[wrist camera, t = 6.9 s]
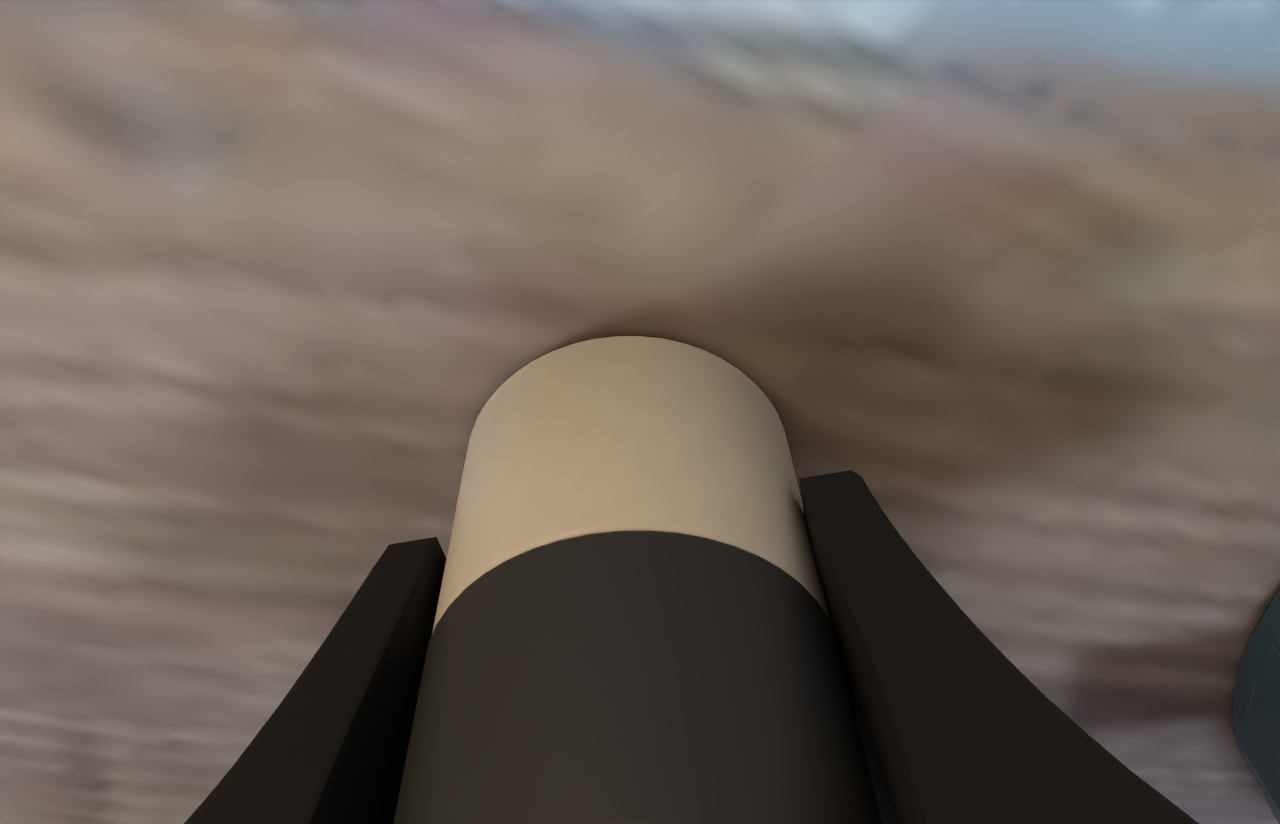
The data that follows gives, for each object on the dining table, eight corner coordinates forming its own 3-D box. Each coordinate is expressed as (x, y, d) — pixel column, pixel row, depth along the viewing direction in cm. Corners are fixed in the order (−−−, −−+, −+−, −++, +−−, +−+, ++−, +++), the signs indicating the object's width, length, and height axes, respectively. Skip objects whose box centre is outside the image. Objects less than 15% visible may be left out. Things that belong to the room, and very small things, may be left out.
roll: (803, 556, 14) (945, 1182, 8) (515, 600, 15) (448, 1227, 9) (771, 303, 12) (946, 948, 6) (421, 365, 12) (231, 1028, 6)
